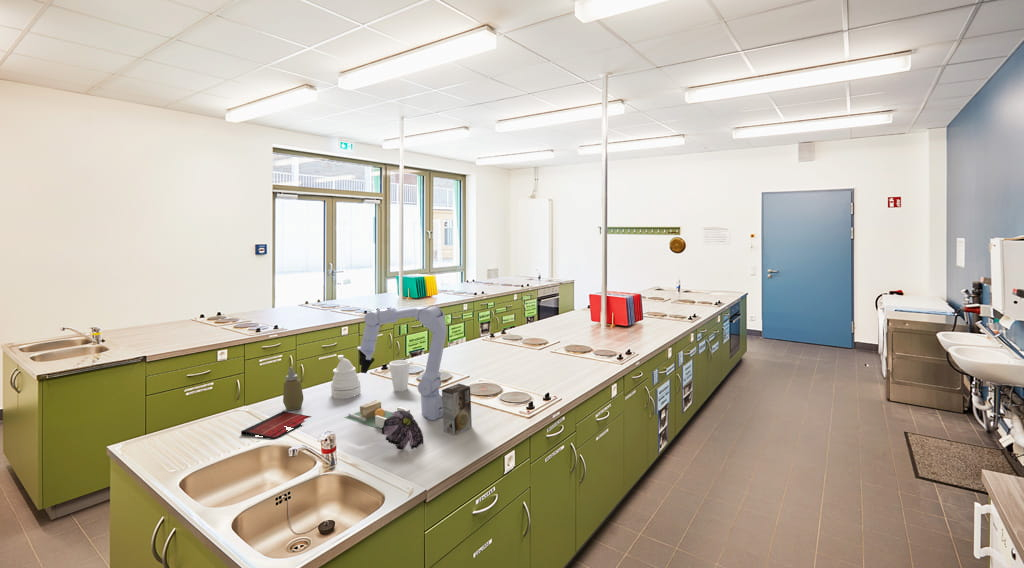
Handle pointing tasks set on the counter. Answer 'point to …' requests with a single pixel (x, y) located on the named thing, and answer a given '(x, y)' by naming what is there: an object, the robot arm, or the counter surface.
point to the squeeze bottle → (292, 391)
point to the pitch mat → (365, 421)
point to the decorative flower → (402, 430)
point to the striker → (369, 409)
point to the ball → (380, 412)
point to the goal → (380, 420)
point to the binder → (276, 425)
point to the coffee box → (456, 409)
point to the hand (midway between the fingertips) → (362, 368)
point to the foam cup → (399, 374)
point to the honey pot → (345, 380)
